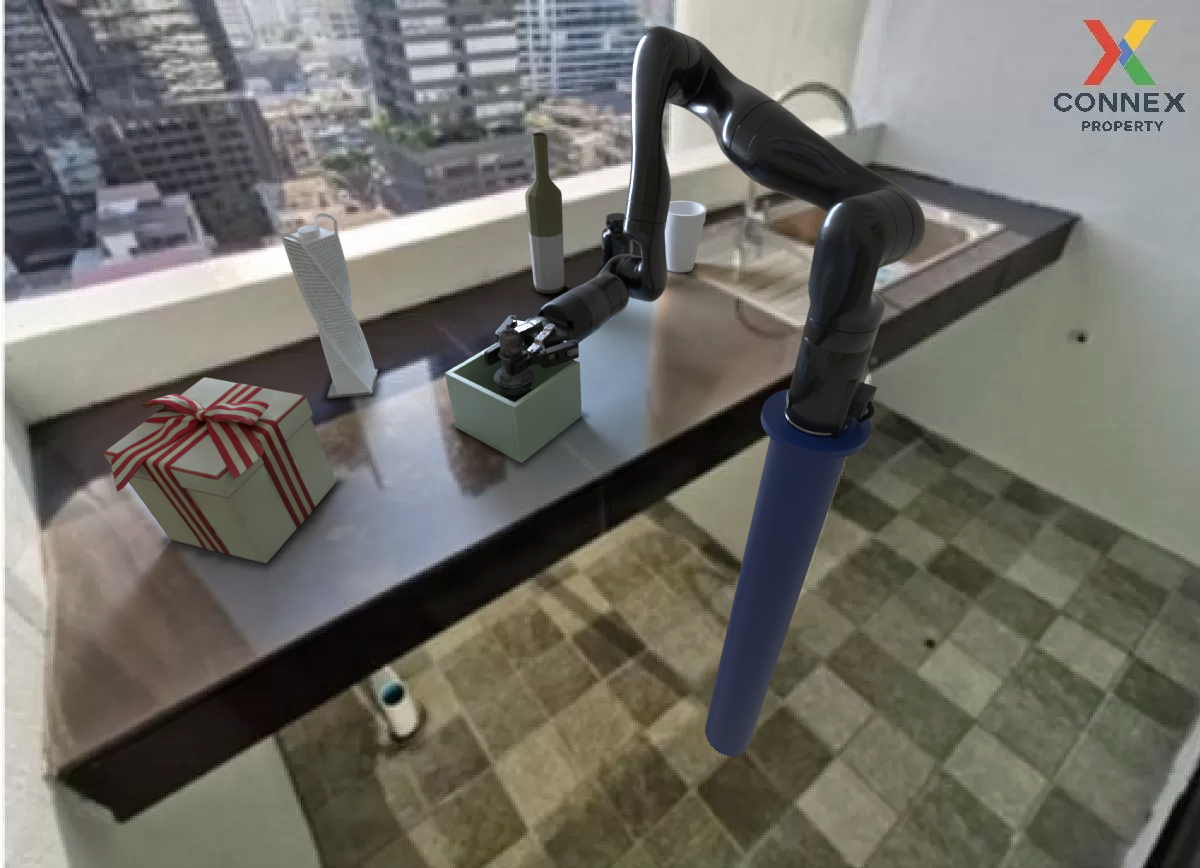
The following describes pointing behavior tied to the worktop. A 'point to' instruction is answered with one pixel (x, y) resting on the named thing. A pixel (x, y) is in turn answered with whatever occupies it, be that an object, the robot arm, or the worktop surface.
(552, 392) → the waste bin
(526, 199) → the bottle
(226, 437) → the gift box
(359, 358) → the skyscraper
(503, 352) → the dark grey turned piece
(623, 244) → the supplement bottle
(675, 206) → the foam cup
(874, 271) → the robot arm
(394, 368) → the worktop surface
